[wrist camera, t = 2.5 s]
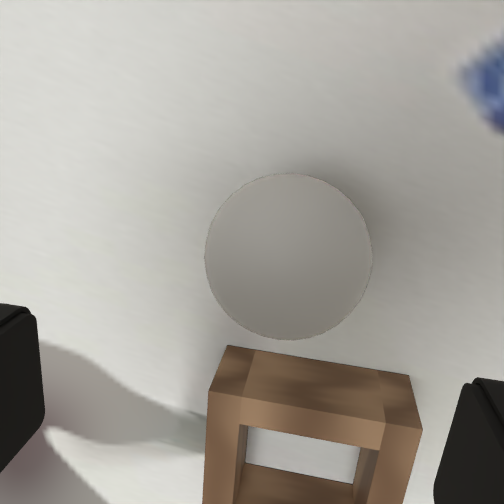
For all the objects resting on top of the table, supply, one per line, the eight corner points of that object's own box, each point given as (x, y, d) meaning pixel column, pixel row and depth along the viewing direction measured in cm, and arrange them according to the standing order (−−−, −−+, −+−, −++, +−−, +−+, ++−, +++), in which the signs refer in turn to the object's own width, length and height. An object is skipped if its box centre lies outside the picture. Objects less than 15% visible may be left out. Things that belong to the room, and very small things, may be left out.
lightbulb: (311, 278, 25) (296, 407, 15) (224, 214, 25) (148, 302, 15) (384, 193, 23) (425, 279, 13) (290, 122, 22) (254, 150, 12)
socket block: (408, 375, 26) (422, 429, 22) (375, 509, 30) (381, 577, 26) (227, 345, 28) (208, 390, 24) (218, 477, 32) (200, 536, 28)
